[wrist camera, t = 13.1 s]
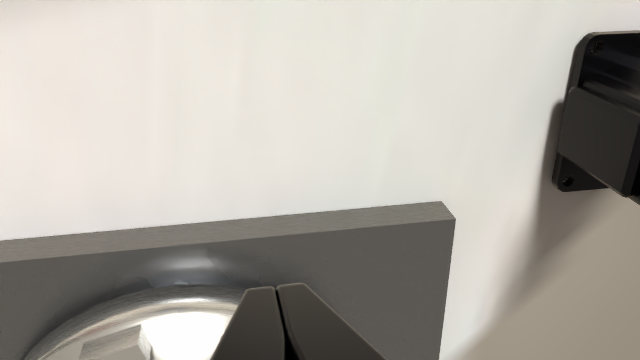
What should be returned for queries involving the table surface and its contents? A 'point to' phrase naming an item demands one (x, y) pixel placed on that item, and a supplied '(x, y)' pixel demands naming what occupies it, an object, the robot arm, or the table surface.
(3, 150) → the table surface
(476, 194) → the table surface
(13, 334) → the cap housing
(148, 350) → the grey rounded piece
